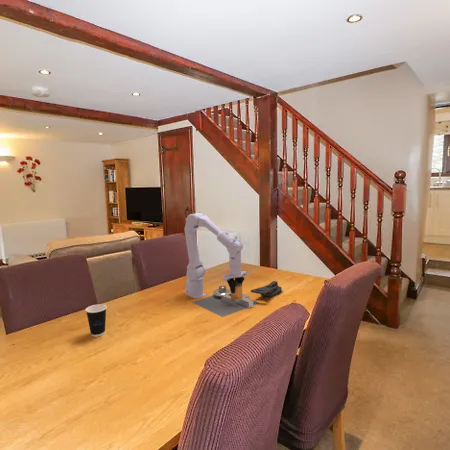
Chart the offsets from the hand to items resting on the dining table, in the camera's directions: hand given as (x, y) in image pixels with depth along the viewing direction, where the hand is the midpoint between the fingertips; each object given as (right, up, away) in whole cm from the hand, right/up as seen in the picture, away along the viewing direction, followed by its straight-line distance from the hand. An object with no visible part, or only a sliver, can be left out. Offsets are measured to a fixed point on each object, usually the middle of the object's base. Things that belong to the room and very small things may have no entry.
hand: (235, 291), depth 161 cm
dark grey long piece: (+17, -4, +8) cm, 19 cm away
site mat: (-5, -6, -1) cm, 7 cm away
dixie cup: (-56, -11, -31) cm, 65 cm away
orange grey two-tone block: (+1, -2, 0) cm, 3 cm away
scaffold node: (-1, -5, +2) cm, 5 cm away
